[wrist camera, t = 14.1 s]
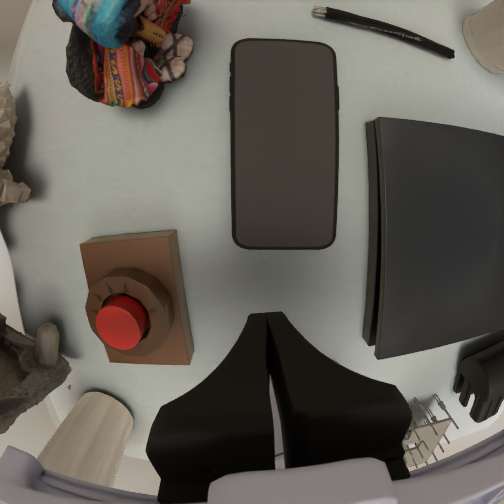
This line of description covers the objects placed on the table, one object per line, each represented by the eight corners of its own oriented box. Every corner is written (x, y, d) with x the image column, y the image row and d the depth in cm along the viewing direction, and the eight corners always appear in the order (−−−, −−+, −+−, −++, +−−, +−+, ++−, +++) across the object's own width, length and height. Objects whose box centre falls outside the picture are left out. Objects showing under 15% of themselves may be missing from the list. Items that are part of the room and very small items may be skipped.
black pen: (312, 18, 17) (315, 12, 16) (313, 8, 17) (315, 2, 16) (449, 60, 17) (455, 57, 16) (448, 51, 17) (454, 48, 16)
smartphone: (230, 251, 21) (229, 37, 17) (231, 247, 22) (230, 42, 18) (336, 250, 21) (337, 42, 17) (333, 247, 22) (333, 46, 18)
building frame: (370, 448, 28) (384, 485, 22) (390, 401, 26) (411, 441, 20) (414, 438, 28) (431, 471, 22) (437, 392, 26) (461, 426, 20)
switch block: (194, 349, 24) (186, 379, 20) (118, 348, 24) (101, 374, 20) (176, 229, 21) (160, 242, 18) (92, 237, 21) (66, 250, 18)
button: (152, 337, 20) (145, 350, 18) (112, 336, 20) (102, 348, 18) (142, 294, 19) (134, 305, 17) (101, 295, 19) (90, 306, 17)
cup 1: (136, 389, 25) (83, 512, 11) (148, 441, 27) (117, 547, 13) (66, 375, 25) (-3, 471, 11) (85, 427, 27) (39, 516, 13)
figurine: (190, 127, 20) (77, 53, 5) (103, 112, 19) (-54, 70, 4) (231, 10, 17) (212, -141, 3) (146, 1, 16) (62, -113, 2)
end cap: (518, 317, 24) (553, 342, 18) (506, 364, 26) (535, 392, 19) (459, 343, 24) (495, 379, 18) (448, 393, 26) (475, 430, 20)
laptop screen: (539, 310, 21) (544, 313, 20) (373, 354, 21) (377, 360, 20) (548, 150, 18) (553, 150, 17) (373, 119, 18) (378, 116, 17)
